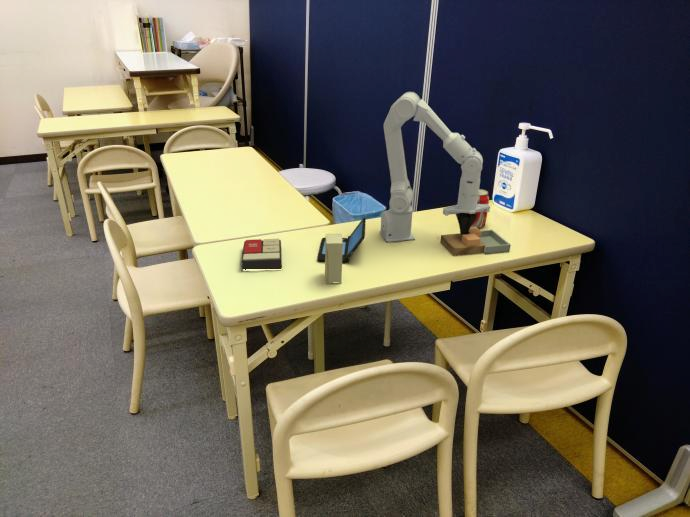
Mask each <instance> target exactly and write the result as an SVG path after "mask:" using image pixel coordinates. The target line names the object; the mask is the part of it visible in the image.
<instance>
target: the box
mask: <svg viewBox="0 0 690 517" xmlns="http://www.w3.org/2000/svg"><path fill="white" fill-rule="evenodd" d="M481 231H482V235H481V238H480V241H481V242H482V243H483V244H484V245H485V250H484V253H483V254H484V255H491V254H492V253H493V254H499V253H500V254H501V253H509V252H510V251H511V243H509V242H508V241H507V240H506V239H504V238H503V237H502V236H501V235H499V234H498V233H497V232H496V231H495V230H494V229H486V230H485V229H484V230H481Z"/></svg>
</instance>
